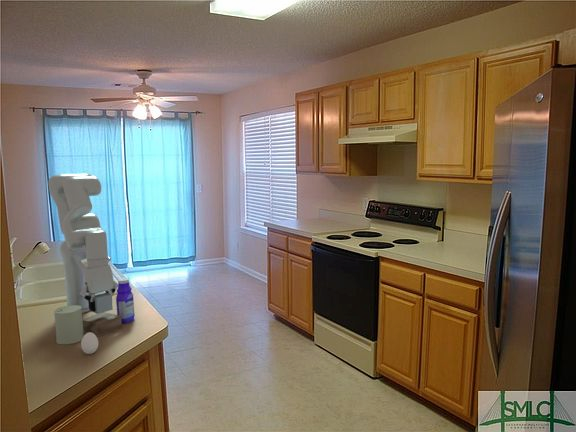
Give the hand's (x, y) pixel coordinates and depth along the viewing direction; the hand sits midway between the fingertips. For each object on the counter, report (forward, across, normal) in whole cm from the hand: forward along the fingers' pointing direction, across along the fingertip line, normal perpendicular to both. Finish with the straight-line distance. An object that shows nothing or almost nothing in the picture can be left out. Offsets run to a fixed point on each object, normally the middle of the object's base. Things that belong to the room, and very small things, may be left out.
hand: (100, 308), depth 170 cm
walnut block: (+9, 0, 0) cm, 9 cm away
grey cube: (+1, 0, 0) cm, 1 cm away
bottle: (+9, -11, -1) cm, 14 cm away
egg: (+9, +14, +17) cm, 24 cm away
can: (+9, +12, -1) cm, 15 cm away
